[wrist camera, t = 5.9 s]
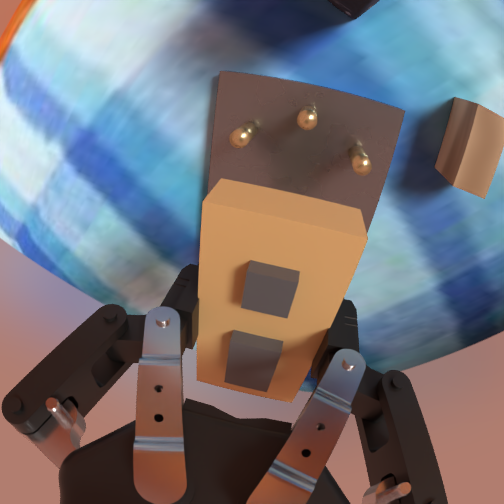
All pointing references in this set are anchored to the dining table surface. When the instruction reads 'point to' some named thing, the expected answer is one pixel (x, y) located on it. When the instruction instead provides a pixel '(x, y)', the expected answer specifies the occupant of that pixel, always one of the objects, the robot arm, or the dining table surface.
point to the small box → (353, 6)
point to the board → (270, 284)
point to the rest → (471, 147)
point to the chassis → (303, 139)
